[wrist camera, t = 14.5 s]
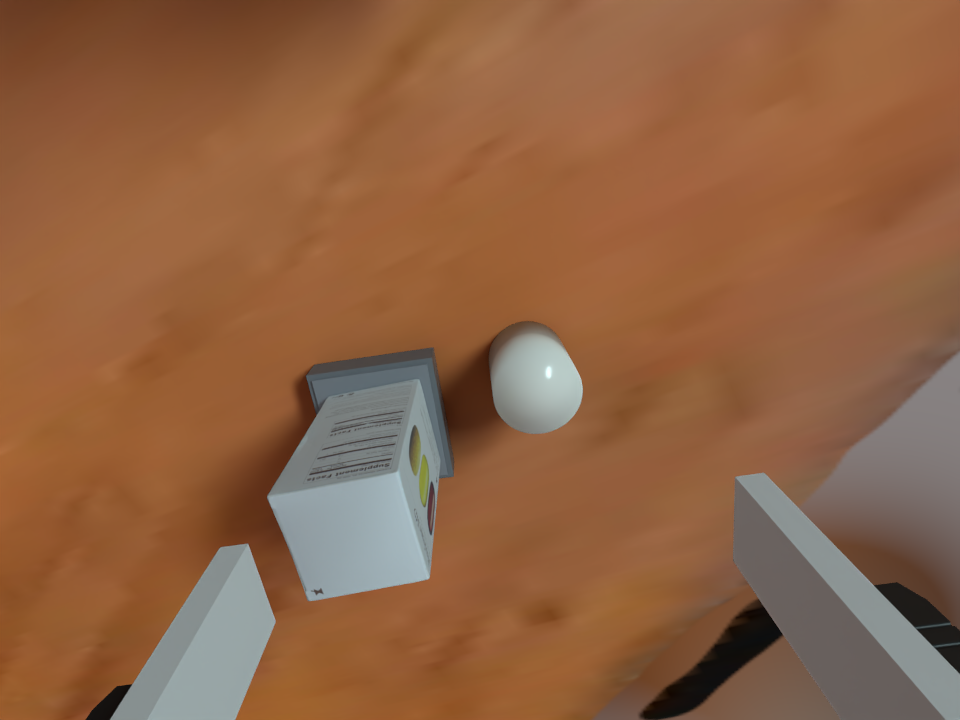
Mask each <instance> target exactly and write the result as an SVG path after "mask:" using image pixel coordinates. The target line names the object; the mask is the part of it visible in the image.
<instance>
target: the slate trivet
mask: <svg viewBox="0 0 960 720" xmlns="http://www.w3.org/2000/svg"><path fill="white" fill-rule="evenodd" d="M306 378H307V382H308V385H309V389H310V393H311V396H312V400H313V403H314V407H315V411H316V414H318V412H319V411H320V409H321V408H322V406H323V404H324V403H325V401H326V399H327V398H328V397H329V396H334V395H339V394H344V393H349V392H353V391H358V390H363V389H368V388H373V387H378V386H383V385H388V384H393V383H398V382H403V381H408V380H414V379H419V380H420V383H421V386H422V390H423V394H424V398H425V402H426V406H427V410H428V414H429V417H430V421H431V425H432V429H433V433H434V437H435V441H436V445H437V449H438V453H439V457H440V472H439V478H446V477H453V476H454V457H453V452H452V446H451V441H450V435H449V430H448V424H447V419H446V413H445V408H444V403H443V397H442V392H441V386H440V381H439V375H438V370H437V364H436V359H435V353H434V348H426V349H419V350H412V351H405V352H399V353H392V354H385V355H378V356H371V357H364V358H357V359H350V360H343V361H336V362H330V363H323V364H316V365H314V366H313V367H312V368H311V370H310V371H309V372H308V374H307V375H306Z"/></svg>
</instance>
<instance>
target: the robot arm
mask: <svg viewBox="0 0 960 720" xmlns="http://www.w3.org/2000/svg"><path fill="white" fill-rule="evenodd" d="M733 561H734V563H735V564H736V566H737V567H738V569H739V570H740V572H741V573H742V575H743V576H744V577H745V579H746V580H747V582H748V583H749V585H750V586H751V588H752V589H753V591H754V592H755V594H756V595H757V597H758V598H759V600H760V601H761V603H762V604H763V606H764V607H765V608H766V610H767V611H768V613H769V614H770V616H771V617H772V619H773V620H774V622H775V623H776V625H777V626H778V628H779V629H780V631H781V632H782V634H783V635H784V636H785V638H786V639H787V641H788V642H789V644H790V645H791V647H792V648H793V650H794V651H795V652H796V654H797V656H798V657H799V659H800V660H801V662H802V663H803V664H804V666H805V667H806V669H807V670H808V672H809V673H810V675H811V676H812V678H813V679H814V681H815V682H816V684H817V685H818V687H819V688H820V690H821V691H822V692H823V694H824V695H825V697H826V698H827V700H828V701H829V703H830V704H831V706H832V707H833V709H834V710H835V712H836V713H837V715H838V716H839V718H840V719H841V720H960V631H959V630H958V629H957V628H956V627H955V626H952V625H951V624H950V621H949V620H948V619H947V618H946V617H945V616H944V615H942V614H941V613H940V612H939V611H938V610H937V609H936V608H935V607H934V606H933V605H932V604H931V603H930V602H929V601H927V600H926V599H925V598H923V597H921V596H919V595H918V594H916V593H914V592H913V591H911V590H909V589H907V588H906V587H904V586H902V585H901V584H899V583H897V582H896V583H889V584H881V585H873V584H871V582H869V580H868V579H867V578H866V577H865V576H864V575H863V574H862V573H861V572H860V571H859V570H858V569H857V568H856V567H855V566H854V565H853V564H852V563H851V562H850V561H849V560H848V559H847V558H846V557H845V556H844V555H843V553H842V552H841V551H839V549H838V548H837V547H836V546H835V545H834V544H833V543H832V542H831V541H830V540H829V539H828V538H827V537H826V536H825V535H824V534H823V533H822V532H821V531H820V530H819V529H818V528H817V527H816V526H815V525H814V524H813V523H812V522H811V521H810V520H809V519H808V517H806V515H805V514H804V513H803V512H802V511H801V510H800V509H799V508H798V507H797V506H796V505H795V504H794V503H793V502H792V501H791V500H790V499H789V498H788V497H787V496H786V495H785V494H784V493H783V492H782V491H781V490H780V489H779V488H778V487H777V486H776V485H775V484H774V483H773V482H772V480H771V479H770V478H769V477H768V476H767V475H766V474H765V473H760V474H752V475H745V476H738V477H735V500H734V544H733ZM275 622H276V621H275V618H274V615H273V613H272V610H271V607H270V604H269V601H268V599H267V596H266V593H265V590H264V587H263V584H262V582H261V579H260V576H259V573H258V570H257V567H256V565H255V562H254V559H253V556H252V553H251V551H250V548H249V545H248V544H241V545H234V546H226V547H220V548H219V550H218V552H217V553H216V555H215V556H214V558H213V559H212V561H211V563H210V564H209V566H208V567H207V569H206V570H205V572H204V573H203V575H202V577H201V578H200V580H199V581H198V583H197V584H196V586H195V588H194V589H193V591H192V592H191V594H190V595H189V597H188V598H187V600H186V602H185V603H184V605H183V606H182V608H181V609H180V611H179V613H178V614H177V616H176V617H175V619H174V620H173V622H172V623H171V625H170V627H169V628H168V630H167V631H166V633H165V634H164V636H163V638H162V639H161V641H160V642H159V644H158V645H157V647H156V648H155V650H154V652H153V653H152V655H151V656H150V658H149V659H148V661H147V663H146V664H145V666H144V667H143V669H142V670H141V672H140V673H139V675H138V677H137V678H136V680H135V681H134V683H133V684H131V685H123V686H117V687H116V688H115V689H114V690H113V691H112V692H111V693H110V694H108V695H107V696H106V697H105V698H104V699H103V700H102V701H101V702H100V703H99V704H98V705H97V706H96V707H95V708H94V709H93V710H92V711H91V713H90V714H89V716H88V717H87V719H86V720H235V719H236V716H237V714H238V711H239V709H240V707H241V704H242V702H243V699H244V697H245V695H246V692H247V690H248V687H249V685H250V682H251V680H252V678H253V675H254V673H255V670H256V668H257V666H258V663H259V661H260V658H261V656H262V653H263V651H264V649H265V646H266V644H267V641H268V639H269V637H270V634H271V632H272V629H273V627H274V625H275Z"/></svg>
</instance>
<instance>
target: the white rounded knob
mask: <svg viewBox="0 0 960 720" xmlns="http://www.w3.org/2000/svg"><path fill="white" fill-rule="evenodd" d="M489 368H490V377H491V385H492V393H493V401H494V405H495V408H496V410H497V412H498V414H499V416H500V417H501V418H502V419H503V420H504V421H505V422H506V423H507V424H508V425H509V426H511V427H512V428H514V429H516V430H519V431H521V432H525V433H531V434H540V433H547V432H550V431H553V430H556V429H558V428H560V427H561V426H563V425H564V424H566V423H567V422H568V421H569V420H570V419H571V418H572V417H573V416H574V414H575V413H576V411H577V410H578V408H579V406H580V403H581V400H582V394H583V387H582V381H581V378H580V375H579V373H578V371H577V370H576V368H575V366H574V364H573V362H572V360H571V359H570V357H569V355H568V353H567V351H566V349H565V348H564V346H563V344H562V342H561V340H560V339H559V337H558V336H557V334H556V333H555V332H554V331H553V330H552V329H550V328H549V327H547V326H546V325H543V324H541V323H538V322H532V321H524V322H518V323H515V324H512V325H510V326H508V327H506V328H505V329H503V330H502V331H501V332H500V333H499V334H498V335H497V336H496V338H495V339H494V340H493V342H492V344H491V347H490V351H489Z"/></svg>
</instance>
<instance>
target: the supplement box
mask: <svg viewBox="0 0 960 720" xmlns="http://www.w3.org/2000/svg"><path fill="white" fill-rule="evenodd" d="M439 472H440V457H439V453H438V449H437V445H436V441H435V437H434V433H433V429H432V425H431V421H430V417H429V414H428V410H427V406H426V402H425V398H424V394H423V390H422V386H421V383H420V380H419V379H414V380H408V381H403V382H398V383H393V384H388V385H383V386H378V387H373V388H368V389H363V390H358V391H353V392H349V393H344V394H339V395H334V396H329V397H328V398H327V399H326V401H325V403H324V404H323V406H322V408H321V409H320V411H319V412H318V414H317V416H316V417H315V419H314V421H313V422H312V424H311V426H310V427H309V429H308V430H307V432H306V434H305V436H304V437H303V439H302V440H301V442H300V444H299V445H298V447H297V448H296V450H295V452H294V453H293V455H292V457H291V458H290V460H289V462H288V463H287V465H286V466H285V468H284V470H283V471H282V473H281V474H280V476H279V478H278V479H277V481H276V482H275V484H274V486H273V487H272V489H271V491H270V492H269V494H268V496H267V499H268V501H269V503H270V506H271V508H272V510H273V512H274V515H275V517H276V519H277V522H278V524H279V526H280V529H281V531H282V533H283V536H284V538H285V540H286V543H287V545H288V548H289V550H290V553H291V555H292V558H293V560H294V563H295V566H296V568H297V571H298V574H299V577H300V579H301V582H302V585H303V588H304V591H305V594H306V597H307V600H308V601H314V600H320V599H326V598H331V597H337V596H342V595H348V594H353V593H358V592H364V591H369V590H375V589H380V588H386V587H391V586H397V585H402V584H408V583H413V582H418V581H423V580H427V579H429V578H430V569H431V558H432V547H433V536H434V525H435V514H436V503H437V493H438V483H439Z"/></svg>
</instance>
